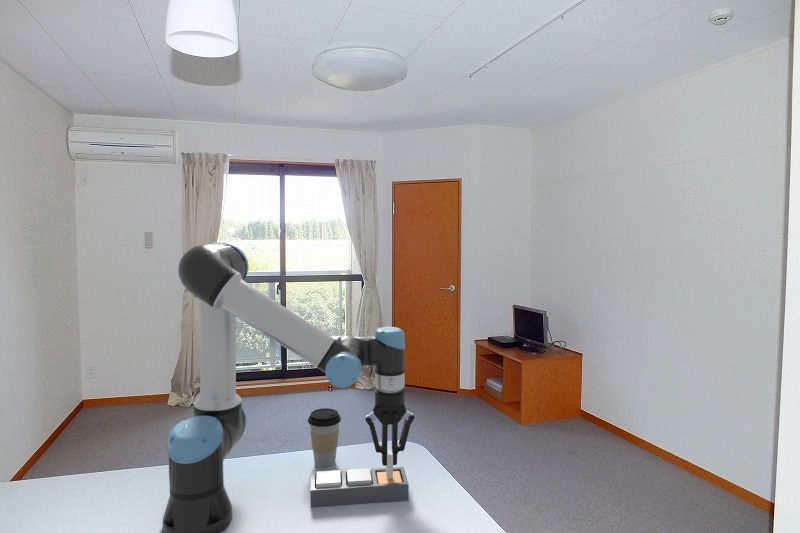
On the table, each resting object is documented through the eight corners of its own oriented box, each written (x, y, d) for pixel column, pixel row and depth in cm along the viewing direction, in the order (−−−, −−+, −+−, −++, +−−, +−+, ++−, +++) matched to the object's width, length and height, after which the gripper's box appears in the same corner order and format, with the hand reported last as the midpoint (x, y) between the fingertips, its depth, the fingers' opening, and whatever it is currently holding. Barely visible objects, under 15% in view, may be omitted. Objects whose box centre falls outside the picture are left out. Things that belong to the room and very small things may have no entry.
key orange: (378, 491, 127) (378, 484, 127) (376, 479, 133) (376, 472, 133) (402, 490, 128) (402, 482, 128) (399, 478, 134) (399, 470, 134)
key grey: (347, 489, 126) (347, 481, 126) (347, 476, 132) (347, 469, 132) (371, 487, 127) (371, 480, 127) (369, 475, 133) (369, 468, 132)
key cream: (316, 491, 125) (316, 483, 125) (317, 478, 131) (316, 471, 131) (340, 489, 126) (340, 482, 125) (340, 477, 132) (340, 470, 131)
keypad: (310, 507, 124) (310, 490, 123) (311, 488, 132) (311, 472, 132) (408, 500, 127) (408, 484, 127) (403, 482, 136) (403, 466, 135)
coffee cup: (338, 471, 141) (338, 420, 140) (305, 470, 142) (304, 419, 140) (343, 455, 151) (342, 407, 149) (311, 455, 151) (311, 406, 149)
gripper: (365, 394, 123) (365, 485, 126) (417, 392, 125) (416, 482, 127) (363, 384, 131) (363, 470, 133) (412, 382, 133) (411, 467, 135)
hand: (389, 476), depth 130 cm, fingers closed
